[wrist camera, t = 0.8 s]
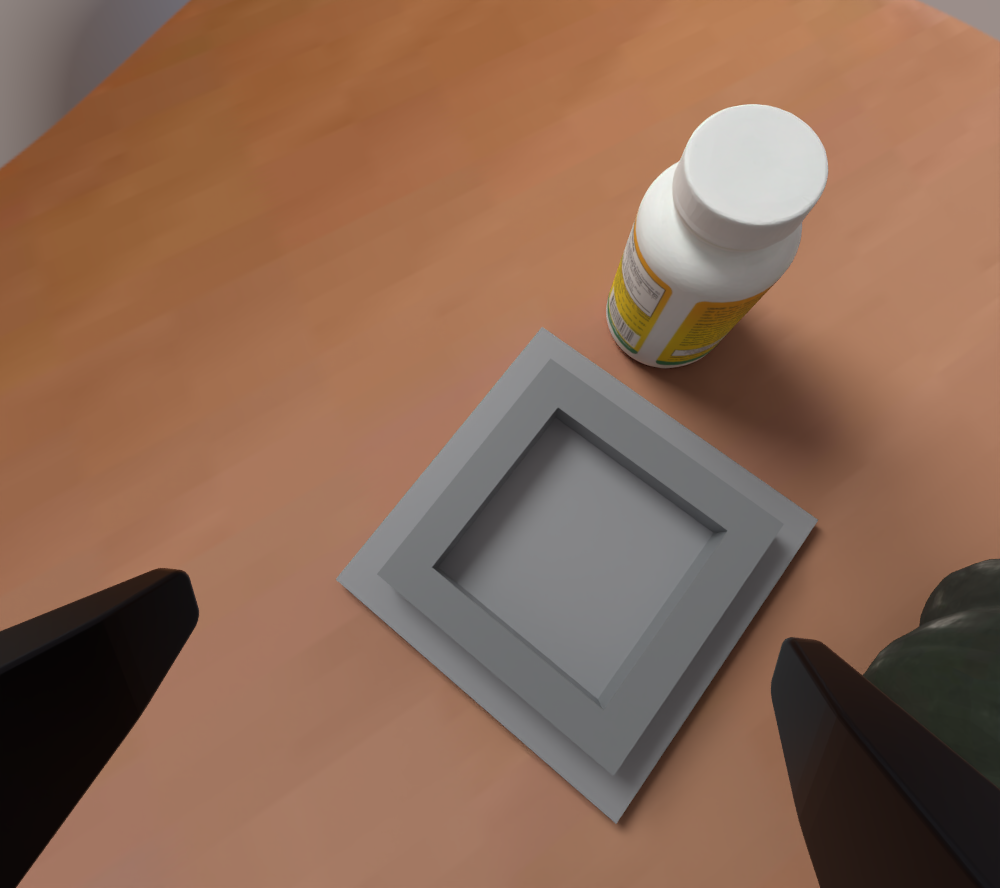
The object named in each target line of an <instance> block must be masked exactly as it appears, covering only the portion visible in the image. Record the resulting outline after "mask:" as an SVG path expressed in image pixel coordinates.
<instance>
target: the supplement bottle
mask: <svg viewBox="0 0 1000 888" xmlns="http://www.w3.org/2000/svg"><path fill="white" fill-rule="evenodd" d="M827 177H828V162H827V156H826V152H825V149H824V146H823V144H822V143H821V141H820V139H819V138H818V136H817V135H816V133H815V132H814V131H813V130H812V129H811V128H810V127H809V126H808V125H807V124H806V123H805V122H803V121H802V120H801V119H799V118H798V117H796V116H795V115H793V114H791V113H789V112H787V111H784V110H782V109H779V108H776V107H771V106H766V105H759V104H748V105H740V106H734V107H730V108H726V109H724V110H721V111H719V112H717V113H715V114H713V115H712V116H710V117H709V118H707V119H706V120H705V121H704V122H703V123H702V124H701V125H700V126H699V127H698V128H697V129H696V130H695V131H694V133H693V134H692V136H691V138H690V139H689V141H688V143H687V145H686V148H685V150H684V152H683V155H682V157H681V159H680V161H679V162H677V163H675V164H674V165H672V166H671V167H669V168H668V169H666V170H665V171H664V172H663V173H662V174H661V175H659V177H658V178H657V179H656V180H655V181H654V182H653V183H652V185H651V186H650V187H649V189H648V190H647V192H646V194H645V196H644V198H643V200H642V202H641V204H640V207H639V210H638V212H637V215H636V218H635V221H634V224H633V227H632V230H631V232H630V235H629V238H628V241H627V244H626V247H625V250H624V253H623V255H622V258H621V261H620V264H619V267H618V270H617V273H616V276H615V278H614V282H613V284H612V287H611V290H610V293H609V297H608V300H607V307H606V316H607V322H608V327H609V330H610V332H611V334H612V336H613V338H614V340H615V341H616V343H617V344H618V346H619V347H620V348H621V349H622V350H623V351H624V352H625V353H626V354H628V355H629V356H630V357H632V358H633V359H635V360H637V361H639V362H641V363H643V364H646V365H649V366H653V367H658V368H674V367H680V366H684V365H688V364H691V363H693V362H695V361H697V360H699V359H701V358H703V357H704V356H705V355H707V354H708V353H709V352H710V351H711V350H712V349H713V348H715V347H716V346H717V345H718V343H719V342H720V341H721V340H722V339H723V338H724V337H725V336H726V335H727V334H728V333H729V331H730V330H731V329H732V328H733V327H734V326H735V325H736V324H737V323H738V322H739V321H740V320H741V318H742V317H743V316H744V315H745V314H746V313H747V312H748V311H749V310H750V309H751V308H752V307H753V306H754V305H755V304H756V303H757V302H758V301H759V300H760V299H761V297H762V296H763V295H764V294H765V293H766V292H767V291H768V290H769V289H770V288H771V287H772V286H773V285H774V284H775V283H776V282H777V281H778V279H779V278H780V277H781V276H782V275H783V274H784V272H785V271H786V270H787V269H788V267H789V266H790V264H791V263H792V261H793V259H794V257H795V255H796V253H797V250H798V247H799V244H800V240H801V233H802V221H803V220H804V218H805V217H806V216H807V214H808V213H809V212H810V211H811V209H812V208H813V207H814V205H815V204H816V203H817V201H818V200H819V198H820V196H821V195H822V193H823V191H824V188H825V185H826V182H827Z"/></svg>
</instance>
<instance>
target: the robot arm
mask: <svg viewBox="0 0 1000 888" xmlns="http://www.w3.org/2000/svg"><path fill="white" fill-rule="evenodd" d="M198 618H199V608H198V605H197V601H196V598H195V595H194V591H193V588H192V584H191V581H190V578H189V576H188V574H187V573H186V572H184V571H182V570H177V569H168V568H158V569H155V570H152V571H149V572H147V573H144V574H142V575H139V576H137V577H135V578H132V579H130V580H127V581H125V582H122V583H120V584H117V585H115V586H112V587H110V588H107V589H105V590H102V591H100V592H97V593H95V594H92V595H90V596H87V597H85V598H82V599H80V600H77V601H75V602H72V603H70V604H67V605H65V606H62V607H60V608H57V609H55V610H52V611H50V612H47V613H45V614H42V615H40V616H37V617H35V618H32V619H30V620H28V621H25V622H23V623H20V624H18V625H15V626H13V627H10V628H8V629H5V630H3V631H0V888H16V887H17V886H18V884H19V883H20V882H21V880H22V879H23V877H24V876H25V875H26V873H27V872H28V871H29V869H30V868H31V867H32V865H33V864H34V862H35V861H36V860H37V858H38V857H39V856H40V854H41V853H42V851H43V850H44V849H45V847H46V846H47V845H48V843H49V842H50V840H51V839H52V838H53V836H54V835H55V834H56V832H57V831H58V829H59V828H60V827H61V825H62V824H63V823H64V821H65V820H66V818H67V817H68V816H69V814H70V813H71V812H72V810H73V809H74V807H75V806H76V805H77V803H78V802H79V801H80V799H81V798H82V797H83V795H84V794H85V792H86V791H87V790H88V788H89V787H90V786H91V784H92V783H93V781H94V780H95V779H96V777H97V776H98V775H99V773H100V772H101V770H102V769H103V768H104V766H105V765H106V764H107V762H108V761H109V759H110V758H111V757H112V755H113V754H114V753H115V751H116V750H117V748H118V747H119V746H120V744H121V743H122V742H123V740H124V739H125V737H126V736H127V735H128V733H129V732H130V731H131V729H132V728H133V726H134V725H135V723H136V722H137V721H138V719H139V718H140V716H141V715H142V713H143V712H144V710H145V708H146V707H147V705H148V704H149V702H150V701H151V699H152V697H153V696H154V694H155V692H156V691H157V689H158V687H159V686H160V684H161V682H162V681H163V679H164V678H165V676H166V674H167V673H168V671H169V669H170V668H171V666H172V664H173V663H174V661H175V659H176V658H177V656H178V655H179V653H180V651H181V650H182V648H183V646H184V645H185V643H186V641H187V640H188V638H189V636H190V635H191V633H192V631H193V630H194V628H195V626H196V624H197V621H198ZM771 696H772V702H773V707H774V711H775V716H776V720H777V725H778V730H779V734H780V739H781V743H782V748H783V753H784V757H785V762H786V766H787V771H788V775H789V780H790V785H791V789H792V794H793V798H794V802H795V807H796V811H797V815H798V819H799V822H800V826H801V829H802V832H803V836H804V839H805V842H806V846H807V849H808V852H809V855H810V858H811V861H812V864H813V867H814V870H815V873H816V876H817V879H818V882H819V885H820V888H1000V789H999V788H998V787H997V786H996V785H994V784H993V783H992V782H991V781H990V780H988V779H987V778H986V777H985V776H984V775H982V774H981V773H980V772H979V771H977V770H976V769H975V768H974V767H973V766H971V765H970V764H969V763H968V762H967V761H965V760H964V759H963V758H962V757H961V756H959V755H958V754H957V753H956V752H954V751H953V750H952V749H951V748H950V747H948V746H947V745H946V744H945V743H944V742H942V741H941V740H940V739H939V738H937V737H936V736H935V735H934V734H933V733H931V732H930V731H929V730H928V729H927V728H925V727H924V726H923V725H922V724H921V723H919V722H918V721H917V720H916V719H914V718H913V717H912V716H911V715H910V714H908V713H907V712H906V711H905V710H904V709H902V708H901V707H900V706H899V705H897V704H896V703H895V702H894V701H893V700H891V699H890V698H889V697H888V696H887V695H885V694H884V693H883V692H882V691H881V690H879V689H878V688H877V687H876V686H874V685H873V684H872V683H871V682H870V681H868V680H867V679H866V678H865V677H864V676H862V675H861V674H860V673H859V672H857V671H856V670H855V669H854V668H853V667H851V666H850V665H849V664H848V663H847V662H845V661H844V660H843V659H842V658H841V657H839V656H838V655H837V654H836V653H834V652H833V651H832V650H831V649H830V648H828V647H827V646H826V645H825V644H823V643H822V642H820V641H817V640H812V639H803V638H794V637H790V638H787V639H785V641H784V642H783V644H782V646H781V650H780V653H779V657H778V660H777V664H776V667H775V671H774V674H773V678H772V682H771Z"/></svg>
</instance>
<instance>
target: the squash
mask: <svg viewBox="0 0 1000 888" xmlns="http://www.w3.org/2000/svg"><path fill="white" fill-rule="evenodd" d="M863 676H864V677H865V678H866V679H867V680H868V681H870V682H871V683H872V684H873V685H874V686H876V687H877V688H878V689H879V690H881V691H882V692H883V693H884V694H885V695H887V696H888V697H889V698H890V699H891V700H893V701H894V702H895V703H896V704H897V705H899V706H900V707H901V708H902V709H904V710H905V711H906V712H907V713H908V714H910V715H911V716H912V717H913V718H914V719H916V720H917V721H918V722H919V723H921V724H922V725H923V726H924V727H925V728H927V729H928V730H929V731H930V732H931V733H933V734H934V735H935V736H936V737H937V738H939V739H940V740H941V741H942V742H944V743H945V744H946V745H947V746H948V747H950V748H951V749H952V750H953V751H954V752H956V753H957V754H958V755H959V756H961V757H962V758H963V759H964V760H965V761H967V762H968V763H969V764H970V765H971V766H973V767H974V768H975V769H976V770H977V771H979V772H980V773H981V774H982V775H984V776H985V777H986V778H987V779H988V780H990V781H991V782H992V783H993V784H994V785H996V786H997V787H998V788H999V789H1000V559H989V560H986V561H983V562H979V563H976V564H973V565H971V566H968V567H965V568H963V569H960V570H958V571H955V572H953V573H951V574H949V575H948V576H947V577H945V578H944V579H943V580H942V581H941V582H940V583H939V585H938V586H937V587H936V588H935V589H934V591H933V592H932V593H931V595H930V597H929V598H928V600H927V602H926V604H925V607H924V609H923V612H922V614H921V618H920V625H919V627H918V628H916V629H915V630H913V631H911V632H910V633H908V634H906V635H904V636H902V637H900V638H898V639H896V640H894V641H893V642H891V643H890V644H889V645H888V646H887V647H885V648H884V649H883V650H882V651H881V652H880V653H879V654H878V655H877V657H876V658H875V659H874V661H873V662H872V663H871V665H870V666H869V668H868V669H867V671H866V672H865V673H864V675H863Z"/></svg>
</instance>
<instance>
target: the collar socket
mask: <svg viewBox="0 0 1000 888" xmlns="http://www.w3.org/2000/svg"><path fill="white" fill-rule="evenodd" d="M817 521H818V520H817V519H816V518H815V517H813V516H812V515H810V514H809V513H807V512H806V511H805V510H803V509H802V508H800V507H799V506H797V505H796V504H795V503H793V502H792V501H790V500H789V499H787V498H786V497H785V496H783V495H782V494H780V493H779V492H777V491H776V490H775V489H773V488H772V487H770V486H769V485H767V484H766V483H765V482H763V481H762V480H760V479H759V478H757V477H756V476H755V475H753V474H752V473H750V472H749V471H747V470H746V469H745V468H743V467H742V466H740V465H739V464H737V463H736V462H735V461H733V460H732V459H730V458H729V457H727V456H726V455H724V454H723V453H722V452H720V451H719V450H717V449H716V448H714V447H713V446H712V445H710V444H709V443H707V442H706V441H704V440H703V439H702V438H700V437H699V436H697V435H696V434H694V433H693V432H692V431H690V430H689V429H687V428H686V427H684V426H683V425H682V424H680V423H679V422H677V421H676V420H674V419H673V418H672V417H670V416H669V415H667V414H666V413H664V412H663V411H662V410H660V409H659V408H657V407H656V406H654V405H653V404H652V403H650V402H649V401H647V400H646V399H644V398H643V397H642V396H640V395H639V394H637V393H636V392H634V391H633V390H632V389H630V388H629V387H627V386H626V385H624V384H623V383H621V382H620V381H619V380H617V379H616V378H614V377H613V376H611V375H610V374H609V373H607V372H606V371H604V370H603V369H601V368H600V367H599V366H597V365H596V364H594V363H593V362H591V361H590V360H589V359H587V358H586V357H584V356H583V355H581V354H580V353H579V352H577V351H576V350H574V349H573V348H571V347H570V346H569V345H567V344H566V343H564V342H563V341H561V340H560V339H559V338H557V337H556V336H554V335H553V334H551V333H550V332H549V331H547V330H546V329H544V328H543V327H542V328H541V329H540V330H539V332H538V333H537V334H536V335H535V336H534V338H533V339H532V340H531V341H530V343H529V344H528V345H527V346H526V347H525V349H524V350H523V351H522V352H521V354H520V355H519V356H518V357H517V358H516V360H515V361H514V362H513V363H512V365H511V366H510V367H509V368H508V369H507V371H506V372H505V373H504V374H503V376H502V377H501V378H500V379H499V380H498V382H497V383H496V384H495V385H494V387H493V388H492V389H491V390H490V391H489V393H488V394H487V395H486V396H485V398H484V399H483V400H482V401H481V402H480V404H479V405H478V406H477V407H476V409H475V410H474V411H473V412H472V413H471V415H470V416H469V417H468V418H467V420H466V421H465V422H464V423H463V424H462V426H461V427H460V428H459V429H458V431H457V432H456V433H455V434H454V435H453V437H452V438H451V439H450V440H449V442H448V443H447V444H446V445H445V446H444V448H443V449H442V450H441V451H440V453H439V454H438V455H437V456H436V457H435V459H434V460H433V461H432V462H431V464H430V465H429V466H428V467H427V468H426V470H425V471H424V472H423V473H422V475H421V476H420V477H419V478H418V479H417V481H416V482H415V483H414V484H413V486H412V487H411V488H410V489H409V490H408V492H407V493H406V494H405V495H404V497H403V498H402V499H401V500H400V501H399V503H398V504H397V505H396V506H395V508H394V509H393V510H392V511H391V512H390V514H389V515H388V516H387V517H386V519H385V520H384V521H383V522H382V523H381V525H380V526H379V527H378V528H377V530H376V531H375V532H374V533H373V534H372V536H371V537H370V538H369V539H368V541H367V542H366V543H365V544H364V545H363V547H362V548H361V549H360V550H359V552H358V553H357V554H356V555H355V556H354V558H353V559H352V560H351V561H350V563H349V564H348V565H347V566H346V567H345V569H344V570H343V571H342V572H341V574H340V575H339V576H338V577H337V579H336V580H337V581H338V582H339V583H341V584H342V585H343V586H344V587H345V588H346V589H347V590H349V591H350V592H351V593H352V594H353V595H354V596H355V597H357V598H358V599H359V600H360V601H361V602H362V603H364V604H365V605H366V606H367V607H368V608H369V609H370V610H372V611H373V612H374V613H375V614H376V615H377V616H378V617H380V618H381V619H382V620H383V621H384V622H385V623H386V624H388V625H389V626H390V627H391V628H392V629H393V630H394V631H396V632H397V633H398V634H399V635H400V636H401V637H402V638H404V639H405V640H406V641H407V642H408V643H409V644H411V645H412V646H413V647H414V648H415V649H416V650H417V651H419V652H420V653H421V654H422V655H423V656H424V657H425V658H427V659H428V660H429V661H430V662H431V663H432V664H433V665H435V666H436V667H437V668H438V669H439V670H440V671H441V672H443V673H444V674H445V675H446V676H447V677H448V678H450V679H451V680H452V681H453V682H454V683H455V684H456V685H458V686H459V687H460V688H461V689H462V690H463V691H464V692H466V693H467V694H468V695H469V696H470V697H471V698H472V699H474V700H475V701H476V702H477V703H478V704H479V705H480V706H482V707H483V708H484V709H485V710H486V711H487V712H489V713H490V714H491V715H492V716H493V717H494V718H495V719H497V720H498V721H499V722H500V723H501V724H502V725H503V726H505V727H506V728H507V729H508V730H509V731H510V732H511V733H513V734H514V735H515V736H516V737H517V738H518V739H519V740H521V741H522V742H523V743H524V744H525V745H526V746H527V747H529V748H530V749H531V750H532V751H533V752H534V753H536V754H537V755H538V756H539V757H540V758H541V759H542V760H544V761H545V762H546V763H547V764H548V765H549V766H550V767H552V768H553V769H554V770H555V771H556V772H557V773H558V774H560V775H561V776H562V777H563V778H564V779H565V780H566V781H568V782H569V783H570V784H571V785H572V786H573V787H575V788H576V789H577V790H578V791H579V792H580V793H581V794H583V795H584V796H585V797H586V798H587V799H588V800H589V801H591V802H592V803H593V804H594V805H595V806H596V807H597V808H599V809H600V810H601V811H602V812H603V813H604V814H605V815H607V816H608V817H609V818H610V819H611V820H612V821H613V822H615V823H617V822H618V820H619V819H620V817H621V816H622V814H623V813H624V811H625V810H626V808H627V807H628V805H629V804H630V802H631V801H632V799H633V798H634V796H635V795H636V793H637V792H638V790H639V789H640V787H641V786H642V784H643V783H644V781H645V780H646V778H647V777H648V775H649V774H650V772H651V771H652V769H653V768H654V766H655V765H656V763H657V762H658V760H659V759H660V757H661V756H662V754H663V753H664V751H665V750H666V748H667V747H668V745H669V744H670V742H671V741H672V739H673V738H674V736H675V735H676V733H677V732H678V730H679V729H680V727H681V726H682V724H683V723H684V721H685V720H686V718H687V717H688V715H689V714H690V712H691V711H692V709H693V708H694V706H695V705H696V703H697V702H698V700H699V699H700V697H701V696H702V694H703V693H704V691H705V690H706V688H707V687H708V685H709V684H710V682H711V681H712V679H713V678H714V676H715V675H716V673H717V672H718V670H719V668H720V667H721V665H722V664H723V662H724V661H725V659H726V658H727V656H728V655H729V653H730V652H731V650H732V649H733V647H734V646H735V644H736V643H737V641H738V640H739V638H740V637H741V635H742V634H743V632H744V631H745V629H746V628H747V626H748V625H749V623H750V622H751V620H752V619H753V617H754V616H755V614H756V613H757V611H758V610H759V608H760V607H761V605H762V604H763V602H764V601H765V599H766V598H767V596H768V595H769V593H770V592H771V590H772V589H773V587H774V586H775V584H776V583H777V581H778V580H779V578H780V577H781V575H782V574H783V572H784V571H785V569H786V568H787V566H788V565H789V563H790V562H791V560H792V559H793V557H794V556H795V554H796V553H797V551H798V550H799V548H800V547H801V545H802V544H803V542H804V541H805V539H806V538H807V536H808V535H809V533H810V532H811V530H812V529H813V527H814V526H815V524H816V523H817Z"/></svg>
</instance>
